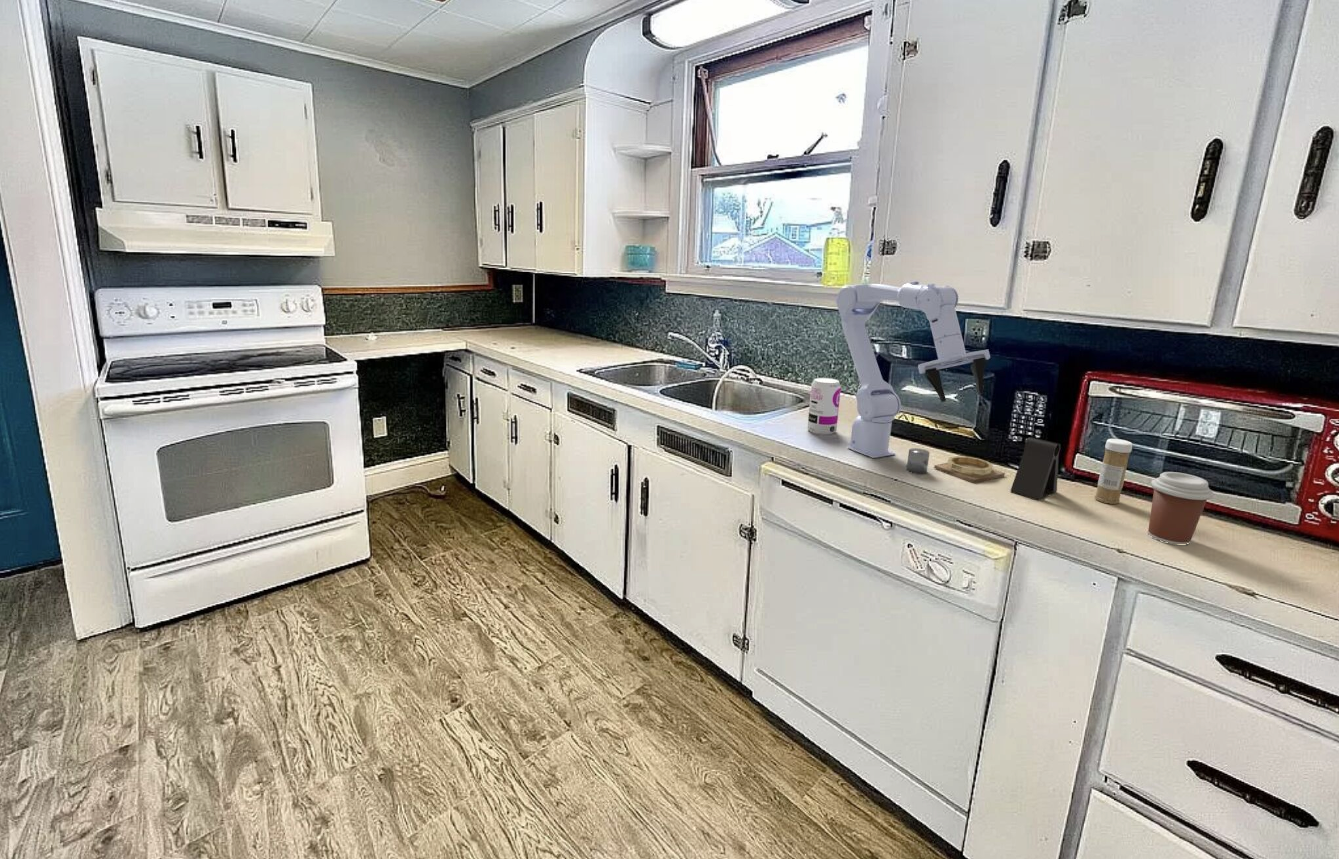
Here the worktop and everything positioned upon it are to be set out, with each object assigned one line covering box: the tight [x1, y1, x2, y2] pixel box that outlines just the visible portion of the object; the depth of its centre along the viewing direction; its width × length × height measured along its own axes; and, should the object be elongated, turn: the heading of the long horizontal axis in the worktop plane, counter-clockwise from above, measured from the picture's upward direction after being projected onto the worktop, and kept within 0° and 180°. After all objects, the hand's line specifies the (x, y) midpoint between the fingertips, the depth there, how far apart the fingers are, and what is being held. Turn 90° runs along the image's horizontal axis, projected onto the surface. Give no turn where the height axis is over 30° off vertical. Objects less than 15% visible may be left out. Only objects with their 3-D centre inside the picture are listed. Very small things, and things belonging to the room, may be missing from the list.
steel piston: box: [906, 447, 931, 475], centre depth 153 cm, size 5×5×5 cm
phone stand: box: [1009, 436, 1061, 501], centre depth 140 cm, size 9×6×12 cm, turn 127°
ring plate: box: [933, 455, 1006, 484], centre depth 153 cm, size 11×11×2 cm
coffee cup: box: [1147, 471, 1214, 545], centre depth 119 cm, size 9×9×12 cm
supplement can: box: [807, 377, 842, 436], centre depth 183 cm, size 8×8×15 cm
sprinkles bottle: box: [1094, 438, 1134, 505], centre depth 136 cm, size 5×5×13 cm
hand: (962, 397), depth 141 cm, fingers open, 7 cm apart
